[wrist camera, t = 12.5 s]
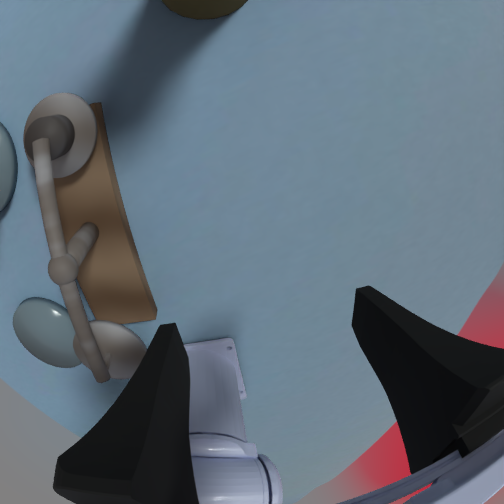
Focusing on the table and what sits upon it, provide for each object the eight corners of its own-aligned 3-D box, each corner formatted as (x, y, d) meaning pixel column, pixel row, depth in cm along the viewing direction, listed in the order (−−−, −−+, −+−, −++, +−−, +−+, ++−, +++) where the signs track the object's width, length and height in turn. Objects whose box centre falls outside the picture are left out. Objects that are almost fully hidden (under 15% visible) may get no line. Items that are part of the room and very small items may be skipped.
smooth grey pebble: (101, 358, 25) (99, 366, 24) (41, 361, 24) (39, 368, 23) (65, 292, 21) (61, 299, 20) (4, 301, 20) (-1, 308, 19)
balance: (163, 322, 24) (155, 405, 16) (108, 329, 23) (87, 407, 16) (99, 82, 15) (32, 75, 7) (34, 108, 14) (-46, 124, 7)
